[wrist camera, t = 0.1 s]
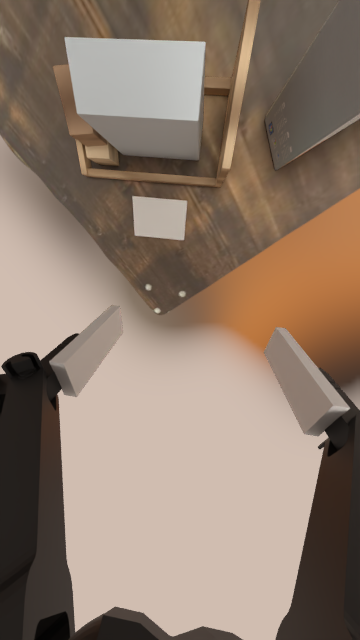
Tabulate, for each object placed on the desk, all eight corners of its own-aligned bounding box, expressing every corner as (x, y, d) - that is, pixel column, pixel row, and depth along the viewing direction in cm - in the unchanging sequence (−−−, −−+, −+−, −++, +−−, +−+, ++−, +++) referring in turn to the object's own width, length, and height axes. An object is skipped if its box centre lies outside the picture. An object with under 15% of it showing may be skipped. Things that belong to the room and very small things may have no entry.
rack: (71, 77, 25) (-15, -21, 15) (236, 85, 24) (263, -17, 14) (88, 176, 32) (34, 154, 21) (220, 187, 30) (230, 168, 20)
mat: (133, 196, 33) (132, 196, 32) (187, 201, 32) (187, 200, 31) (135, 235, 36) (134, 235, 36) (184, 240, 36) (183, 240, 35)
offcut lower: (90, 99, 27) (74, 81, 23) (113, 100, 26) (100, 82, 23) (99, 164, 31) (86, 157, 27) (119, 166, 31) (109, 159, 27)
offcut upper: (74, 89, 24) (52, 66, 20) (97, 86, 23) (79, 62, 20) (86, 146, 27) (70, 135, 23) (107, 145, 26) (93, 133, 23)
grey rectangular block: (120, 114, 27) (64, 37, 16) (203, 118, 26) (205, 41, 15) (123, 155, 30) (77, 113, 18) (199, 160, 29) (198, 120, 18)
